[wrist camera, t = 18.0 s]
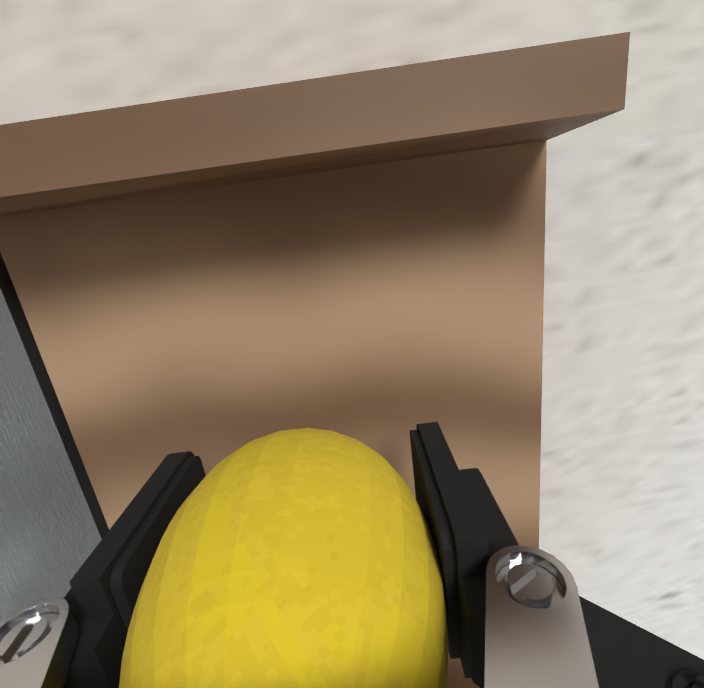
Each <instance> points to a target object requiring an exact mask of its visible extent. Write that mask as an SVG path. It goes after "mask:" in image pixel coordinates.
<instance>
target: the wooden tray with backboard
mask: <svg viewBox="0 0 704 688" xmlns="http://www.w3.org/2000/svg"><path fill="white" fill-rule="evenodd" d="M629 38H630V32H627V33H620V34H613V35H606V36H600V37H593V38H586V39H579V40H572V41H566V42H559V43H552V44H545V45H539V46H532V47H525V48H518V49H512V50H505V51H498V52H491V53H484V54H478V55H471V56H464V57H457V58H451V59H444V60H437V61H430V62H423V63H417V64H410V65H403V66H396V67H390V68H383V69H376V70H369V71H363V72H356V73H349V74H342V75H335V76H329V77H322V78H315V79H308V80H302V81H295V82H288V83H281V84H274V85H268V86H261V87H254V88H247V89H241V90H234V91H227V92H220V93H214V94H207V95H200V96H193V97H186V98H180V99H173V100H166V101H159V102H153V103H146V104H139V105H132V106H126V107H119V108H112V109H105V110H98V111H92V112H85V113H78V114H71V115H65V116H58V117H51V118H44V119H37V120H31V121H24V122H17V123H10V124H4V125H0V252H1V255H2V257H3V260H4V262H5V265H6V267H7V270H8V273H9V275H10V278H11V280H12V283H13V285H14V288H15V290H16V293H17V295H18V298H19V301H20V303H21V306H22V308H23V311H24V313H25V316H26V318H27V321H28V324H29V326H30V329H31V331H32V334H33V336H34V339H35V341H36V344H37V347H38V349H39V352H40V354H41V357H42V359H43V362H44V364H45V367H46V370H47V372H48V375H49V377H50V380H51V382H52V385H53V387H54V390H55V392H56V395H57V398H58V400H59V403H60V405H61V408H62V410H63V413H64V415H65V418H66V421H67V423H68V426H69V428H70V431H71V433H72V436H73V438H74V441H75V444H76V446H77V449H78V451H79V454H80V456H81V459H82V461H83V464H84V466H85V469H86V472H87V474H88V477H89V479H90V482H91V484H92V487H93V489H94V492H95V495H96V497H97V500H98V502H99V505H100V507H101V510H102V512H103V515H104V518H105V520H106V523H107V525H108V528H109V530H110V528H111V527H112V526H113V524H114V523H115V522H116V521H117V519H118V518H119V517H120V515H121V514H122V513H123V511H124V510H125V509H126V508H127V506H128V505H129V504H130V502H131V501H132V500H133V498H134V497H135V496H136V495H137V493H138V492H139V491H140V489H141V488H142V487H143V486H144V484H145V483H146V482H147V480H148V479H149V478H150V476H151V475H152V474H153V473H154V471H155V470H156V469H157V467H158V466H159V465H160V463H161V462H162V461H163V460H164V458H165V457H166V456H167V455H168V454H171V453H179V452H187V451H191V452H193V454H194V456H199V457H200V458H201V461H202V464H203V468H204V471H205V475H207V474H208V473H209V472H210V471H211V470H212V469H213V468H214V467H215V466H216V465H217V464H218V463H220V462H221V461H222V460H223V459H225V458H226V457H228V456H229V455H231V454H232V453H234V452H235V451H237V450H238V449H240V448H241V447H243V446H244V445H246V444H247V443H249V442H251V441H253V440H255V439H258V438H261V437H263V436H266V435H269V434H272V433H275V432H277V431H282V430H291V429H301V428H314V429H323V430H331V431H334V432H337V433H340V434H343V435H346V436H349V437H352V438H354V439H357V440H359V441H361V442H362V443H364V444H365V445H367V446H368V447H370V448H371V449H373V450H374V451H376V452H377V453H379V454H380V455H381V456H382V457H384V458H385V459H386V460H387V461H388V463H389V464H390V465H391V466H392V467H393V468H394V469H395V470H396V471H397V472H398V474H399V475H400V476H401V477H402V478H403V479H404V481H405V482H406V483H407V485H408V486H409V488H410V490H411V491H412V493H413V495H414V497H415V499H416V495H415V484H414V474H413V464H412V453H411V443H410V430H416V429H417V424H421V423H429V422H438V424H439V426H440V428H441V430H442V433H443V435H444V437H445V439H446V442H447V444H448V446H449V448H450V451H451V453H452V455H453V457H454V460H455V462H456V464H457V466H458V469H459V470H461V469H469V468H478V469H479V470H480V472H481V474H482V476H483V477H484V479H485V481H486V483H487V485H488V487H489V489H490V491H491V493H492V495H493V496H494V498H495V500H496V502H497V504H498V506H499V508H500V510H501V512H502V514H503V515H504V517H505V519H506V521H507V523H508V525H509V527H510V529H511V531H512V533H513V534H514V536H515V538H516V540H517V542H518V544H519V545H520V546H530V547H534V548H537V549H539V499H540V448H541V397H542V346H543V295H544V244H545V193H546V142H547V140H548V139H551V138H553V137H556V136H558V135H561V134H563V133H566V132H568V131H571V130H573V129H576V128H578V127H581V126H583V125H586V124H588V123H591V122H593V121H596V120H598V119H601V118H603V117H606V116H608V115H611V114H613V113H615V112H618V111H620V110H623V109H624V107H625V93H626V79H627V65H628V51H629ZM446 688H480V687H479V686H477V685H476V684H475V683H473V682H472V678H465V676H464V672H463V668H462V664H461V660H460V658H458V659H451V658H450V655H449V652H448V669H447V685H446Z"/></svg>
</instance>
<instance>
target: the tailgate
mask: <svg viewBox="0 0 704 688" xmlns="http://www.w3.org/2000/svg"><path fill="white" fill-rule="evenodd" d="M108 531H109V528H108V525H107V523H106V520H105V518H104V515H103V512H102V510H101V507H100V505H99V502H98V500H97V497H96V495H95V492H94V489H93V487H92V484H91V482H90V479H89V477H88V474H87V472H86V469H85V466H84V464H83V461H82V459H81V456H80V454H79V451H78V449H77V446H76V444H75V441H74V438H73V436H72V433H71V431H70V428H69V426H68V423H67V421H66V418H65V415H64V413H63V410H62V408H61V405H60V403H59V400H58V398H57V395H56V392H55V390H54V387H53V385H52V382H51V380H50V377H49V375H48V372H47V370H46V367H45V364H44V362H43V359H42V357H41V354H40V352H39V349H38V347H37V344H36V341H35V339H34V336H33V334H32V331H31V329H30V326H29V324H28V321H27V318H26V316H25V313H24V311H23V308H22V306H21V303H20V301H19V298H18V295H17V293H16V290H15V288H14V285H13V283H12V280H11V278H10V275H9V273H8V270H7V267H6V265H5V262H4V260H3V257H2V255H1V252H0V621H1V620H3V619H4V618H5V617H6V616H8V615H9V614H11V613H12V612H14V611H15V610H17V609H19V608H20V607H22V606H24V605H26V604H28V603H31V602H33V601H35V600H38V599H42V598H46V597H50V596H54V597H61V598H64V597H65V596H66V594H67V593H68V592H69V590H70V589H71V586H70V583H69V581H70V580H71V579H72V578H73V576H74V575H75V574H76V572H77V571H78V570H79V568H80V567H81V566H82V565H83V563H84V562H85V561H86V559H87V558H88V557H89V556H90V554H91V553H92V552H93V550H94V549H95V548H96V546H97V545H98V544H99V543H100V541H101V540H102V539H103V537H104V536H105V535H106V533H107V532H108Z"/></svg>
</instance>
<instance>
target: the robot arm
mask: <svg viewBox="0 0 704 688" xmlns="http://www.w3.org/2000/svg"><path fill="white" fill-rule="evenodd" d="M410 443H411V453H412V464H413V474H414V484H415V495H416V501H417V503H418V505H419V507H420V509H421V511H422V513H423V515H424V517H425V519H426V521H427V523H428V526H429V528H430V531H431V533H432V536H433V539H434V543H435V546H436V550H437V554H438V559H439V563H440V568H441V575H442V582H443V590H444V597H445V604H446V612H447V626H448V652H449V655H450V658H451V659H458V658H460V660H461V664H462V668H463V672H464V676H465V678H472V682H473V683H475V684H476V685H477V686H479V687H480V688H704V660H703V659H701V658H699V657H697V656H695V655H693V654H691V653H689V652H687V651H685V650H683V649H681V648H679V647H677V646H675V645H673V644H671V643H670V642H668V641H666V640H664V639H662V638H660V637H658V636H656V635H654V634H652V633H650V632H648V631H646V630H644V629H642V628H640V627H638V626H636V625H635V624H633V623H631V622H629V621H627V620H625V619H623V618H621V617H619V616H617V615H615V614H613V613H611V612H609V611H607V610H605V609H603V608H601V607H600V606H598V605H596V604H594V603H592V602H590V601H588V600H586V599H584V598H582V597H580V596H579V594H578V590H577V586H576V583H575V581H574V578H573V576H572V574H571V573H570V571H569V570H568V569H567V568H566V566H565V565H564V564H563V563H562V562H560V561H559V560H558V559H556V558H555V557H554V556H553V555H551V554H549V553H547V552H545V551H543V550H541V549H537V548H534V547H530V546H520V545H519V544H518V542H517V540H516V538H515V536H514V534H513V533H512V531H511V529H510V527H509V525H508V523H507V521H506V519H505V517H504V515H503V514H502V512H501V510H500V508H499V506H498V504H497V502H496V500H495V498H494V496H493V495H492V493H491V491H490V489H489V487H488V485H487V483H486V481H485V479H484V477H483V476H482V474H481V472H480V470H479V469H478V468H469V469H461V470H459V469H458V466H457V464H456V462H455V460H454V457H453V455H452V453H451V451H450V448H449V446H448V444H447V442H446V439H445V437H444V435H443V433H442V430H441V428H440V426H439V424H438V422H429V423H421V424H417V429H416V430H410ZM205 476H206V475H205V471H204V468H203V464H202V461H201V458H200V457H199V456H194V454H193V452H191V451H187V452H179V453H171V454H168V455H167V456H166V457H165V458H164V460H163V461H162V462H161V463H160V465H159V466H158V467H157V469H156V470H155V471H154V473H153V474H152V475H151V476H150V478H149V479H148V480H147V482H146V483H145V484H144V486H143V487H142V488H141V489H140V491H139V492H138V493H137V495H136V496H135V497H134V498H133V500H132V501H131V502H130V504H129V505H128V506H127V508H126V509H125V510H124V511H123V513H122V514H121V515H120V517H119V518H118V519H117V521H116V522H115V523H114V524H113V526H112V527H111V528H110V530H109V531H108V532H107V533H106V535H105V536H104V537H103V539H102V540H101V541H100V543H99V544H98V545H97V546H96V548H95V549H94V550H93V552H92V553H91V554H90V556H89V557H88V558H87V559H86V561H85V562H84V563H83V565H82V566H81V567H80V568H79V570H78V571H77V572H76V574H75V575H74V576H73V578H72V579H71V580H70V581H69V583H70V586H71V589H70V590H69V592H68V593H67V594H66V596H65V597H64V598H61V597H54V596H50V597H46V598H42V599H38V600H35V601H33V602H31V603H28V604H26V605H24V606H22V607H20V608H19V609H17V610H15V611H14V612H12V613H11V614H9V615H8V616H6V617H5V618H4V619H3V620H1V621H0V688H119V682H120V673H121V663H122V656H123V652H124V647H125V642H126V637H127V633H128V629H129V625H130V622H131V618H132V614H133V611H134V607H135V605H136V602H137V599H138V596H139V593H140V590H141V587H142V584H143V582H144V580H145V577H146V575H147V572H148V570H149V567H150V565H151V563H152V560H153V558H154V555H155V553H156V550H157V548H158V546H159V543H160V541H161V539H162V537H163V535H164V533H165V531H166V529H167V527H168V525H169V523H170V522H171V520H172V518H173V517H174V515H175V514H176V512H177V510H178V509H179V508H180V506H181V505H182V504H183V502H184V501H185V500H186V499H187V497H188V496H189V495H190V494H191V493H192V491H193V490H194V489H195V488H196V487H197V486H198V484H199V483H200V482H201V481H202V480H203V479H204V478H205Z"/></svg>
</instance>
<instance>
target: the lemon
mask: <svg viewBox="0 0 704 688" xmlns="http://www.w3.org/2000/svg"><path fill="white" fill-rule="evenodd" d="M447 669H448V626H447V612H446V604H445V597H444V590H443V582H442V575H441V568H440V563H439V559H438V554H437V550H436V546H435V543H434V539H433V536H432V533H431V531H430V528H429V526H428V523H427V521H426V519H425V517H424V515H423V513H422V511H421V509H420V507H419V505H418V503H417V501H416V499H415V497H414V495H413V493H412V491H411V490H410V488H409V486H408V485H407V483H406V482H405V481H404V479H403V478H402V477H401V476H400V475H399V474H398V472H397V471H396V470H395V469H394V468H393V467H392V466H391V465H390V464H389V463H388V461H387V460H386V459H385V458H384V457H382V456H381V455H380V454H379V453H377V452H376V451H374V450H373V449H371V448H370V447H368V446H367V445H365V444H364V443H362V442H361V441H359V440H357V439H354V438H352V437H349V436H346V435H343V434H340V433H337V432H334V431H331V430H323V429H314V428H301V429H291V430H282V431H277V432H275V433H272V434H269V435H266V436H263V437H261V438H258V439H255V440H253V441H251V442H249V443H247V444H246V445H244V446H243V447H241V448H240V449H238V450H237V451H235V452H234V453H232V454H231V455H229V456H228V457H226V458H225V459H223V460H222V461H221V462H220V463H218V464H217V465H216V466H215V467H214V468H213V469H212V470H211V471H210V472H209V473H208V474H207V475H206V476H205V478H204V479H203V480H202V481H201V482H200V483H199V484H198V486H197V487H196V488H195V489H194V490H193V491H192V493H191V494H190V495H189V496H188V497H187V499H186V500H185V501H184V502H183V504H182V505H181V506H180V508H179V509H178V510H177V512H176V514H175V515H174V517H173V518H172V520H171V522H170V523H169V525H168V527H167V529H166V531H165V533H164V535H163V537H162V539H161V541H160V543H159V546H158V548H157V550H156V553H155V555H154V558H153V560H152V563H151V565H150V567H149V570H148V572H147V575H146V577H145V580H144V582H143V584H142V587H141V590H140V593H139V596H138V599H137V602H136V605H135V607H134V611H133V614H132V618H131V622H130V625H129V629H128V633H127V637H126V642H125V647H124V652H123V656H122V663H121V673H120V682H119V688H446V685H447Z"/></svg>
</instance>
